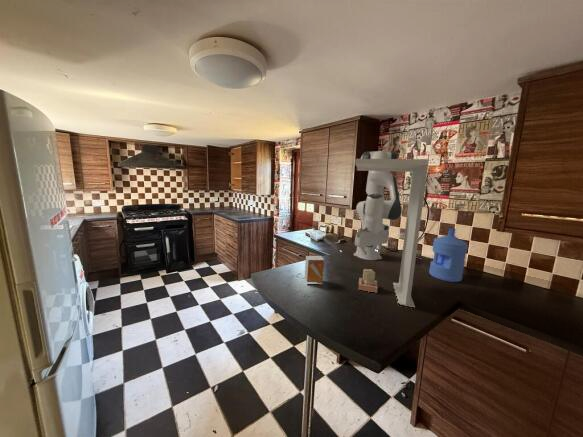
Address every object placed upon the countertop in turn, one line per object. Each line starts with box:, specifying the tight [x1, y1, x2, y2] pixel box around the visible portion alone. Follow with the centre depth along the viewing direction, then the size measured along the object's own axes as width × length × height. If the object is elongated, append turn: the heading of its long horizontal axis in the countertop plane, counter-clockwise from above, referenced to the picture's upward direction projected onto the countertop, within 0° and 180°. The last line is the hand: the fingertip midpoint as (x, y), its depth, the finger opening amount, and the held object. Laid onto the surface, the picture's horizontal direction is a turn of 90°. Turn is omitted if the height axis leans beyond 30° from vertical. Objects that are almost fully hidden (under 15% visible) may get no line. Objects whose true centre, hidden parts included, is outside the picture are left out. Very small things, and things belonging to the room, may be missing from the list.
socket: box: [357, 277, 378, 294], centre depth 110 cm, size 8×8×3 cm
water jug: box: [428, 227, 468, 283], centre depth 127 cm, size 16×16×28 cm
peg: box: [362, 268, 376, 286], centre depth 110 cm, size 4×4×9 cm
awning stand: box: [354, 158, 430, 309], centre depth 104 cm, size 22×28×60 cm
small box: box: [304, 255, 325, 284], centre depth 114 cm, size 8×6×13 cm
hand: (370, 253), depth 116 cm, fingers open, 8 cm apart
